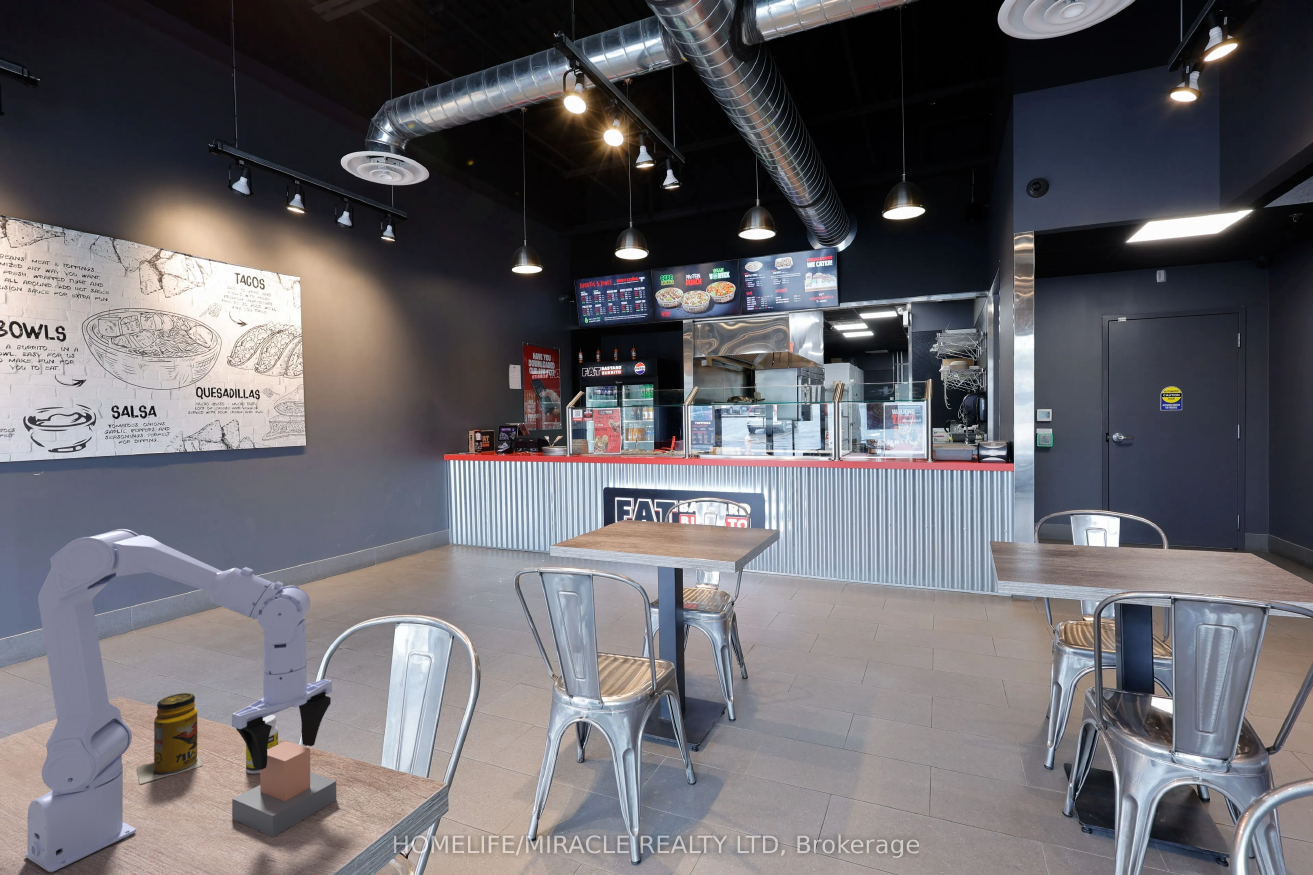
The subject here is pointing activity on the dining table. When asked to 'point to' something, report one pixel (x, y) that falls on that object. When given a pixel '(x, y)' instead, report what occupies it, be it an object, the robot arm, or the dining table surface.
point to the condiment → (173, 738)
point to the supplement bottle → (271, 743)
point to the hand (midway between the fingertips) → (285, 755)
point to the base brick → (282, 806)
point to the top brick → (286, 771)
